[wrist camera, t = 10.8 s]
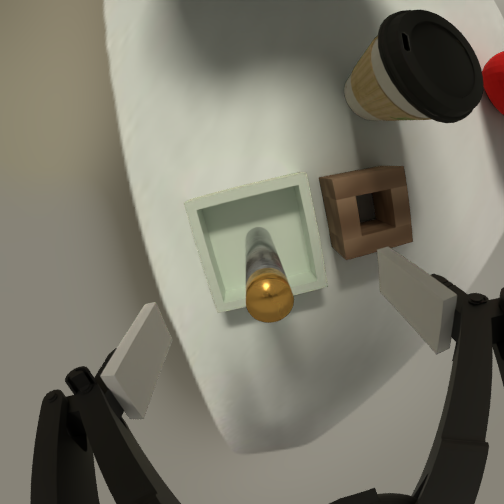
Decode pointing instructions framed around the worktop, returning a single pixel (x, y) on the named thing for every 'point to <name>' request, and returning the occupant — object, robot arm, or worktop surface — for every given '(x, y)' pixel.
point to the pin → (265, 279)
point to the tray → (250, 216)
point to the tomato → (495, 80)
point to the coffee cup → (416, 72)
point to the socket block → (385, 204)
